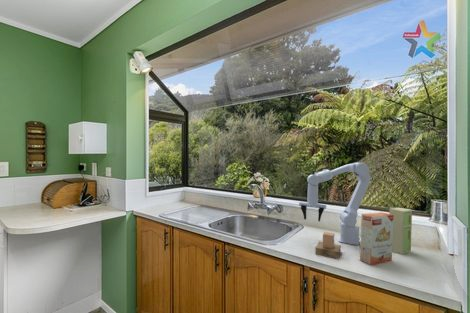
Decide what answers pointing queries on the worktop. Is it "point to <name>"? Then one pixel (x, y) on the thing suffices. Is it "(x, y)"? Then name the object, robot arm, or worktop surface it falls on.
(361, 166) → the robot arm
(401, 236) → the toy refrigerator
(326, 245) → the tan block
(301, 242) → the worktop surface
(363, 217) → the cracker box
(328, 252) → the walnut block
